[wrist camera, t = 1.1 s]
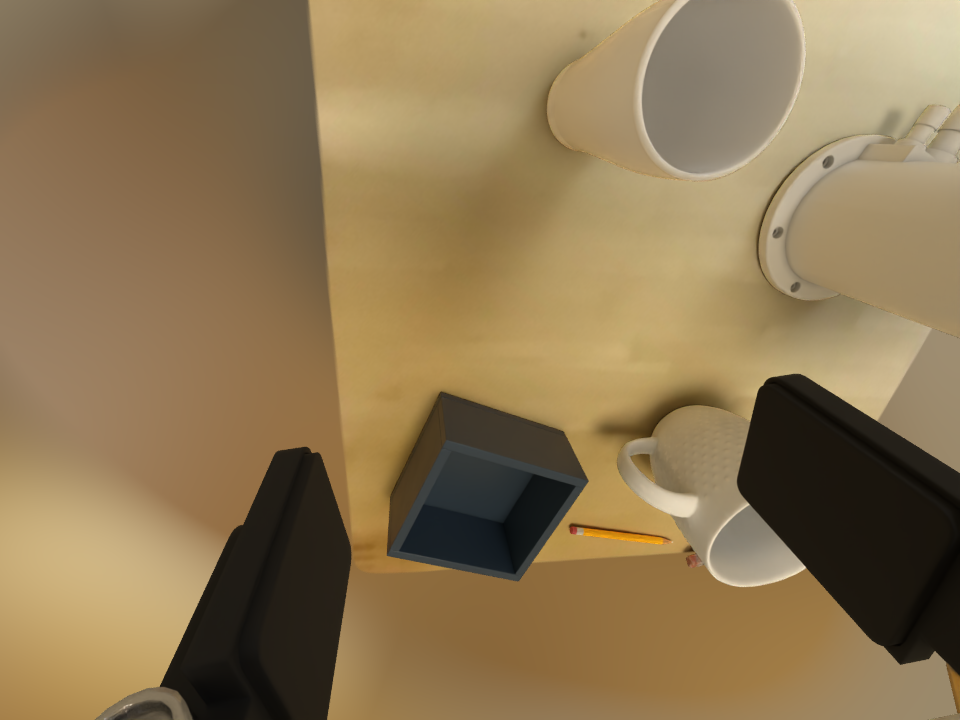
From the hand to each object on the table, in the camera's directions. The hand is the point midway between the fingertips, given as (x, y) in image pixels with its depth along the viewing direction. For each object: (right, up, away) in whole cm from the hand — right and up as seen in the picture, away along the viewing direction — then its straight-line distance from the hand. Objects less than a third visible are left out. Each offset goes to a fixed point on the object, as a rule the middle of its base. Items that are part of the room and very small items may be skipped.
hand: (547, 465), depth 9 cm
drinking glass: (+5, +19, +20) cm, 28 cm away
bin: (-2, -8, +33) cm, 34 cm away
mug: (+18, -5, +34) cm, 39 cm away
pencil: (+15, -17, +40) cm, 46 cm away
